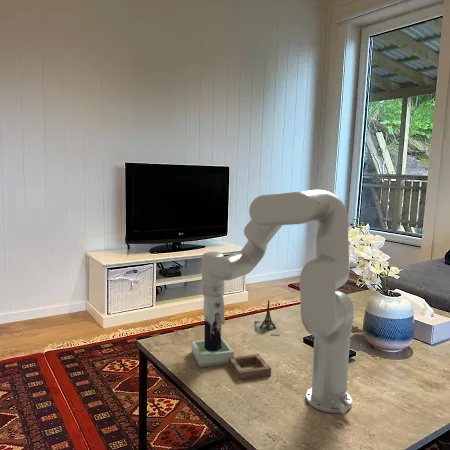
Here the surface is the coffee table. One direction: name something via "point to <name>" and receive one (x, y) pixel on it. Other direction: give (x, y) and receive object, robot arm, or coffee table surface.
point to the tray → (211, 354)
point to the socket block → (249, 373)
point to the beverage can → (208, 338)
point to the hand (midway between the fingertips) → (212, 340)
